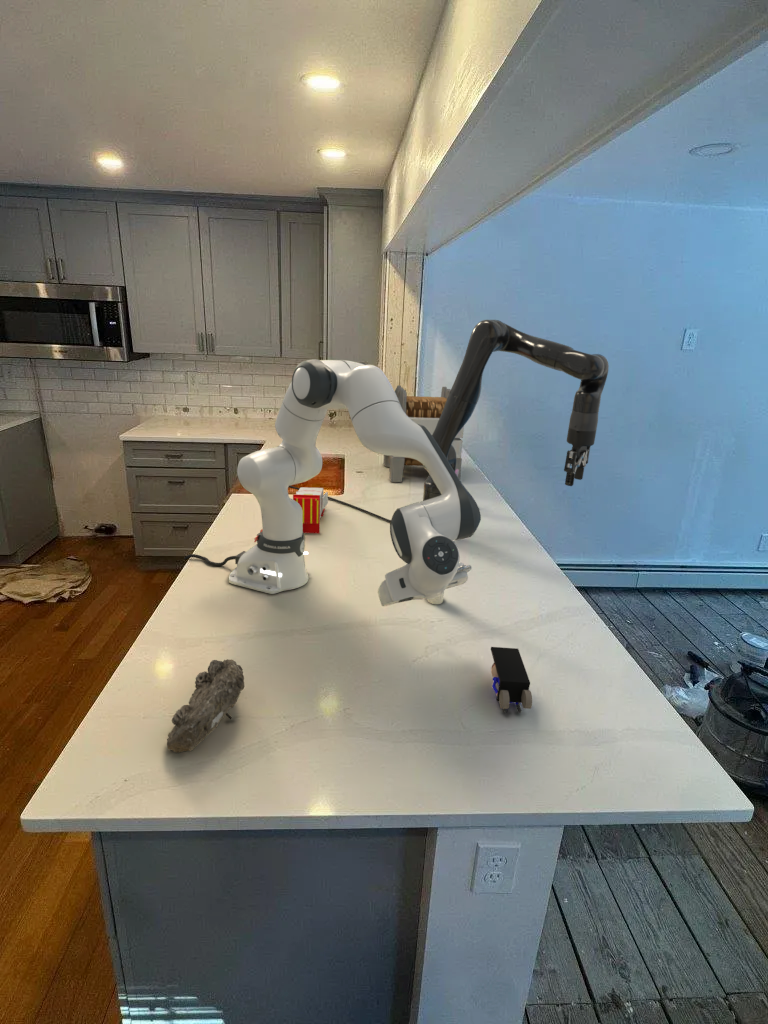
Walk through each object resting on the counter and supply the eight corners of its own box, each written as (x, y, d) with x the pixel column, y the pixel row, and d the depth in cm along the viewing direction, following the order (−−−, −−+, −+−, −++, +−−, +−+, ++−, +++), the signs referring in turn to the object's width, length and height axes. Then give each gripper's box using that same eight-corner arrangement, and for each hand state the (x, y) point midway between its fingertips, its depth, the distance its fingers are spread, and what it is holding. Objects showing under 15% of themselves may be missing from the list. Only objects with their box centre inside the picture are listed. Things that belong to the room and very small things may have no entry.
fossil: (192, 660, 117) (244, 628, 112) (224, 691, 120) (276, 661, 115) (142, 746, 98) (202, 712, 93) (182, 779, 101) (242, 748, 96)
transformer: (382, 463, 289) (386, 382, 275) (445, 464, 293) (451, 384, 279) (390, 482, 257) (394, 392, 243) (460, 483, 261) (468, 394, 247)
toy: (329, 482, 221) (323, 496, 191) (328, 516, 224) (322, 535, 194) (297, 482, 220) (287, 495, 191) (297, 515, 223) (287, 534, 194)
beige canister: (444, 598, 157) (449, 539, 151) (441, 605, 153) (446, 545, 147) (429, 595, 158) (434, 537, 152) (425, 602, 154) (430, 542, 148)
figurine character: (531, 725, 112) (514, 671, 125) (537, 696, 108) (519, 644, 122) (497, 724, 111) (484, 671, 125) (502, 695, 108) (488, 644, 121)
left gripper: (468, 551, 123) (455, 569, 135) (378, 575, 119) (373, 592, 132) (478, 578, 121) (464, 594, 133) (386, 604, 117) (381, 618, 129)
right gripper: (577, 422, 167) (568, 474, 173) (561, 428, 156) (552, 484, 162) (603, 425, 163) (593, 479, 169) (588, 433, 152) (578, 490, 158)
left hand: (418, 593), depth 132 cm, fingers open, 8 cm apart
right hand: (573, 482), depth 165 cm, fingers open, 8 cm apart
